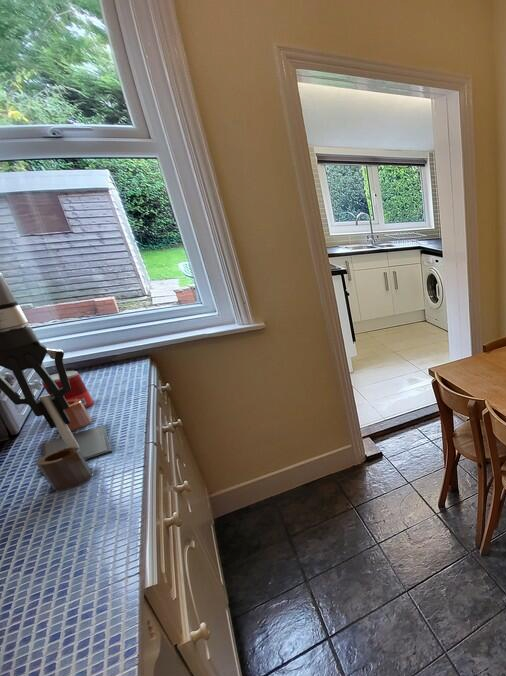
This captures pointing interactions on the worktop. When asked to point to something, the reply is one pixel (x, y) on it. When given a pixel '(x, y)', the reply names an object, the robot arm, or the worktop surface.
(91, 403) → the canned food
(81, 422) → the pen holder
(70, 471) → the stand
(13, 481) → the worktop surface
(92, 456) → the tablet
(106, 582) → the worktop surface
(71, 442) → the cream long square bar
